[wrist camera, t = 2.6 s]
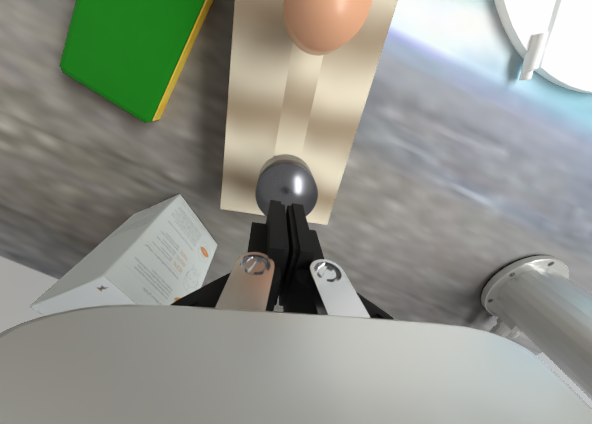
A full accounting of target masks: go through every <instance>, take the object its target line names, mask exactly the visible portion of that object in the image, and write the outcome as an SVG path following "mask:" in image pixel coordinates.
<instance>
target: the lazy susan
mask: <svg viewBox="0 0 592 424" xmlns="http://www.w3.org/2000/svg"><path fill="white" fill-rule="evenodd" d="M494 3H495V6H496V9H497V12H498V15H499V18H500V20H501V23H502V25H503V27H504V30H505V32H506V34H507V36H508V38H509V39H510V41H511V43H512V45H513V46H514V48H515V49H516V51H517V52H518V53H519V55H520V56H521V57H522V58H523V60H524V61H523V65H522V69H521V75H520V78H519V80H528V79H531V77H532V74H533V71H534V70H535V71H536V72H537V73H538V74H540V75H541V76H542V77H544V78H545V79H547V80H549V81H550V82H552V83H554V84H556V85H559V86H561V87H563V88H566V89H569V90H573V91H577V92H583V93H590V94H592V0H494Z"/></svg>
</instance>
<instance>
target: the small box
mask: <svg viewBox="0 0 592 424" xmlns="http://www.w3.org/2000/svg"><path fill="white" fill-rule="evenodd" d="M216 248H217V243H216V242H215V241H214V239H213V238H212V237H211V235H210V234H209V233H208V231H207V230H206V229H205V227H204V226H203V224H202V223H201V222H200V220H199V219H198V218H197V216H196V215H195V214H194V212H193V211H192V210H191V208H190V207H189V206H188V204H187V203H186V201H185V200H184V199H183V197H182V196H181V195H180V194H178V195H176V196H174V197H172V198H169V199H167V200H165V201H163V202H160V203H158V204H156V205H154V206H151V207H149V208H147V209H144V210H142V211H140V212H137V213H135V214H133V215H132V216H131V217H130V218H129V219H128V220H126V221H125V222H124V223H123V224H122V225H121V226H120V227H118V228H117V229H116V230H115V231H114V232H113V233H111V234H110V235H109V236H108V237H107V238H106V239H105V240H104V241H102V242H101V243H100V244H99V245H98V246H97V247H96V248H95V249H93V250H92V251H91V252H90V253H89V254H88V255H87V256H85V257H84V258H83V259H82V260H81V261H80V262H79V263H77V264H76V265H75V266H74V267H73V268H72V269H71V270H70V271H69V272H67V273H66V274H65V275H64V276H63V277H62V278H61V279H60V280H58V281H57V282H56V283H55V284H54V285H53V286H52V287H51V288H49V289H48V290H47V291H46V292H45V293H44V294H43V295H42V296H41V297H39V298H38V299H37V300H36V301H35V302H34V303H33V304H32V305H31V306H30V307H31V308H33V309H34V310H36V311H37V312H39V313H40V314H42V315H43V316H47V315H50V314H54V313H59V312H64V311H69V310H74V309H78V308H85V307H94V306H103V305H121V304H140V305H171V304H172V303H174V302H175V301H177V300H178V299H180V298H182V297H184V296H186V295H188V294H190V293H192V292H194V291H196V290H198V289H200V288H201V286H202V284H203V281H204V279H205V276H206V274H207V271H208V269H209V266H210V263H211V261H212V258H213V256H214V253H215V250H216Z"/></svg>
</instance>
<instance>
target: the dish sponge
mask: <svg viewBox="0 0 592 424" xmlns="http://www.w3.org/2000/svg"><path fill="white" fill-rule="evenodd" d="M212 2H213V0H76V4H75V8H74V12H73V16H72V19H71V23H70V27H69V31H68V35H67V39H66V43H65V47H64V50H63V54H62V58H61V62H60V67H61V69H62V71H63V73H65V74H67V75H68V76H70V77H72V78H73V79H75V80H76V81H78V82H80V83H81V84H83V85H85V86H86V87H88V88H89V89H91V90H93V91H94V92H96V93H98V94H99V95H101V96H102V97H104V98H106V99H107V100H109V101H111V102H112V103H114V104H115V105H117V106H119V107H120V108H122V109H124V110H125V111H127V112H128V113H130V114H132V115H133V116H135V117H137V118H138V119H140V120H141V121H143V122H145V123H146V122H151V121H155V120H159V119H160V117H161V115H162V113H163V111H164V108H165V106H166V104H167V102H168V100H169V97H170V95H171V93H172V91H173V89H174V86H175V84H176V82H177V80H178V78H179V75H180V73H181V71H182V69H183V66H184V64H185V62H186V60H187V58H188V55H189V53H190V51H191V49H192V47H193V44H194V42H195V40H196V38H197V35H198V33H199V31H200V29H201V27H202V24H203V22H204V20H205V18H206V16H207V13H208V11H209V9H210V7H211V5H212Z"/></svg>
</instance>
